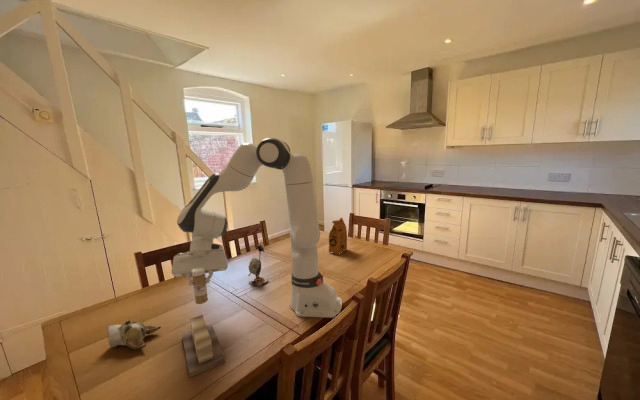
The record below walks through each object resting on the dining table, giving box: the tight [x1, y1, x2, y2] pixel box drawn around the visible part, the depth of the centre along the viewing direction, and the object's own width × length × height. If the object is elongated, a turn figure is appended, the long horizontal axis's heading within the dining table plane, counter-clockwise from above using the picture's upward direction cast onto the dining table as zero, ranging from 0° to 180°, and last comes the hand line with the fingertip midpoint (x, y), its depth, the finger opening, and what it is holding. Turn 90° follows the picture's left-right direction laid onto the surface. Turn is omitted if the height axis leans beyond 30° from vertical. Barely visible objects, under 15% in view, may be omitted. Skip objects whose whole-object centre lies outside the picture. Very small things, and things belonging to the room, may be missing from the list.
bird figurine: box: [248, 244, 269, 286], centre depth 128 cm, size 8×11×20 cm
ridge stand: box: [181, 314, 226, 378], centre depth 84 cm, size 20×10×8 cm, turn 34°
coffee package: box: [328, 217, 348, 255], centre depth 168 cm, size 10×12×22 cm
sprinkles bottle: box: [192, 267, 209, 305], centre depth 98 cm, size 5×5×14 cm
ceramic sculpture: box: [106, 320, 162, 350], centre depth 88 cm, size 11×9×15 cm
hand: (199, 284), depth 97 cm, fingers closed on sprinkles bottle, 4 cm apart
